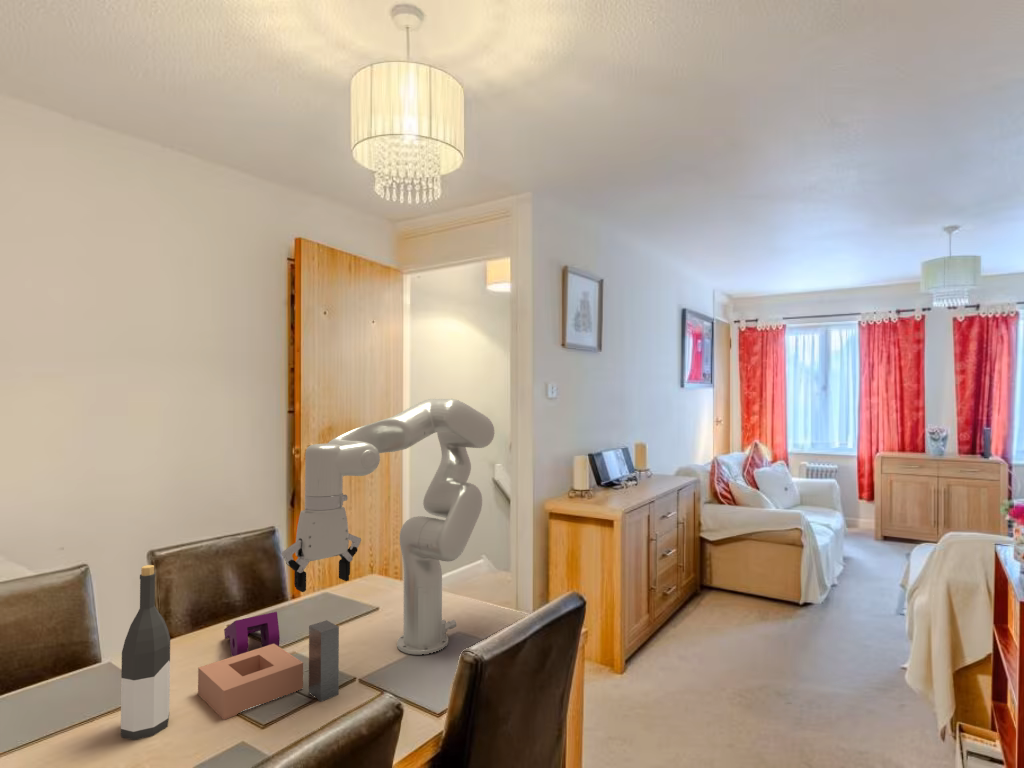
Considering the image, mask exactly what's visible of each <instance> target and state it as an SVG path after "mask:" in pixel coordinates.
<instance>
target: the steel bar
mask: <svg viewBox="0 0 1024 768" xmlns="http://www.w3.org/2000/svg"><path fill="white" fill-rule="evenodd" d="M339 629H340V626H338V625H336V624H335V623H333V622H331V621H329V620H327V619H325V620H324V621H320V622H317V623H313V624H311V625H308V694H309V693H311V694H312V695H313V696H315V697H316V698H317V699H318V700H317V699H316V698H315V697H314V698H315V699H316V700H317V701H318V702H325V701H326V700H328V699H331V698H333V697H336V696H338V695H339V691H340V688H339V687H340V686H339V685H340V684H339V682H340V681H339V669H340V667H339V663H340V660H339V659H340V657H339V656H340V653H339V650H340V647H339V643H340V642H339V641H340V633H339V632H340V630H339ZM312 695H311V696H312ZM313 696H312V697H313Z"/></svg>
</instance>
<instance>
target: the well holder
mask: <svg viewBox="0 0 1024 768" xmlns="http://www.w3.org/2000/svg"><path fill="white" fill-rule="evenodd" d="M197 669H198V670H197V673H198V674H197V695H198V696H199V697H200V698H201V699H202V700H203V701H204V702H205V703H206V704H207V705H208V706H209V707H210V708H211V709H212V710H213V711H214V712H215V713H216V714H217V715H218V716H219V717H220V718H221V719H222V720H223V721H224V720H228V719H230V718H232V717H234V716H237V714H238V713H239V712H241V711H243V710H245V709H248V708H250V707H253V706H256V705H259V704H263V703H266V702H268V703H270V702H269V701H271V700H273V699H276V698H278V697H281V698H283V697H282V696H284V695H286V696H288V694H289V695H291V694H290V693H292V694H294V693H296V691H297V692H298V690H299V691H301V690H300V689H302V688H303V689H304V662H303V661H301V660H300V659H298V658H297V657H295V656H294V655H292V654H290V653H289V652H287V651H286V650H285V649H284V648H281V647H280V646H279V647H278V646H277V645H275V644H271V645H268V646H265V647H263V646H262V647H259V648H255V649H252V650H250V651H249V650H248V652H246V653H242V654H239V655H236V656H233V657H232V656H230V657H227V658H224V659H222V660H218V661H215V662H211V663H208V664H206V665H205V664H204V665H203V666H201V665H200V666H199V667H197ZM303 689H302V690H303ZM293 692H294V693H293ZM284 697H285V696H284ZM276 700H277V699H276ZM271 702H272V701H271ZM266 704H267V703H266ZM263 705H264V704H263ZM238 715H239V714H238Z"/></svg>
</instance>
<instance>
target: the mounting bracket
mask: <svg viewBox="0 0 1024 768" xmlns="http://www.w3.org/2000/svg"><path fill="white" fill-rule="evenodd" d="M223 631H224V639H225V640H226V639H227V640H228V639H229V646H230V647H229V648H230V653H231V657H233V656H236V655H239V654H242V653H246V652H249V635H250V634H249V633H251V634H254V633H258V632H260V638H261V639H260V640H261V646H262V647H265V646H268V645H271V644H275V645H277V646H278V647H280V639H281V638H280V636H281V635H280V625H279V619H278V611H274V612H269V613H265V614H260V615H255V616H250V617H245V618H241V619H237V620H236V619H235V620H234V621H233V622H232V623H230V624H228V626H226V628H224V629H223Z"/></svg>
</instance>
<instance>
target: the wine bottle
mask: <svg viewBox="0 0 1024 768" xmlns="http://www.w3.org/2000/svg"><path fill="white" fill-rule="evenodd" d="M140 569H141V574H139V582H140V584H139V609H138V612H137V613H136V615H135V617H134V618H133V620H132V622H131V623H130V625H129V629H128V631H127V634H126V636H125V638H124V639H125V640H124V643H123V646H122V650H121V680H120V681H121V684H120V687H121V689H120V737H121V738H124V739H127V740H132V741H135V740H140V739H144V738H148V737H153V736H155V735H157V734H158V733H160V732H162V731H163V730H164V729H165V730H166V728H168V726H169V719H170V710H171V709H170V704H171V703H170V702H171V701H170V700H171V699H170V697H171V696H170V695H171V694H170V692H171V691H170V690H171V689H170V687H171V637H170V631H169V628H168V626H167V623H166V621H165V619H164V617H163V615H162V614H161V613H160V612H159V610H158V609H157V607H156V605H155V601H156V599H155V598H156V596H155V593H156V591H155V590H156V585H155V584H156V572H155V565H152V564H147V565H143V566H142V567H141V568H140Z"/></svg>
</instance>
